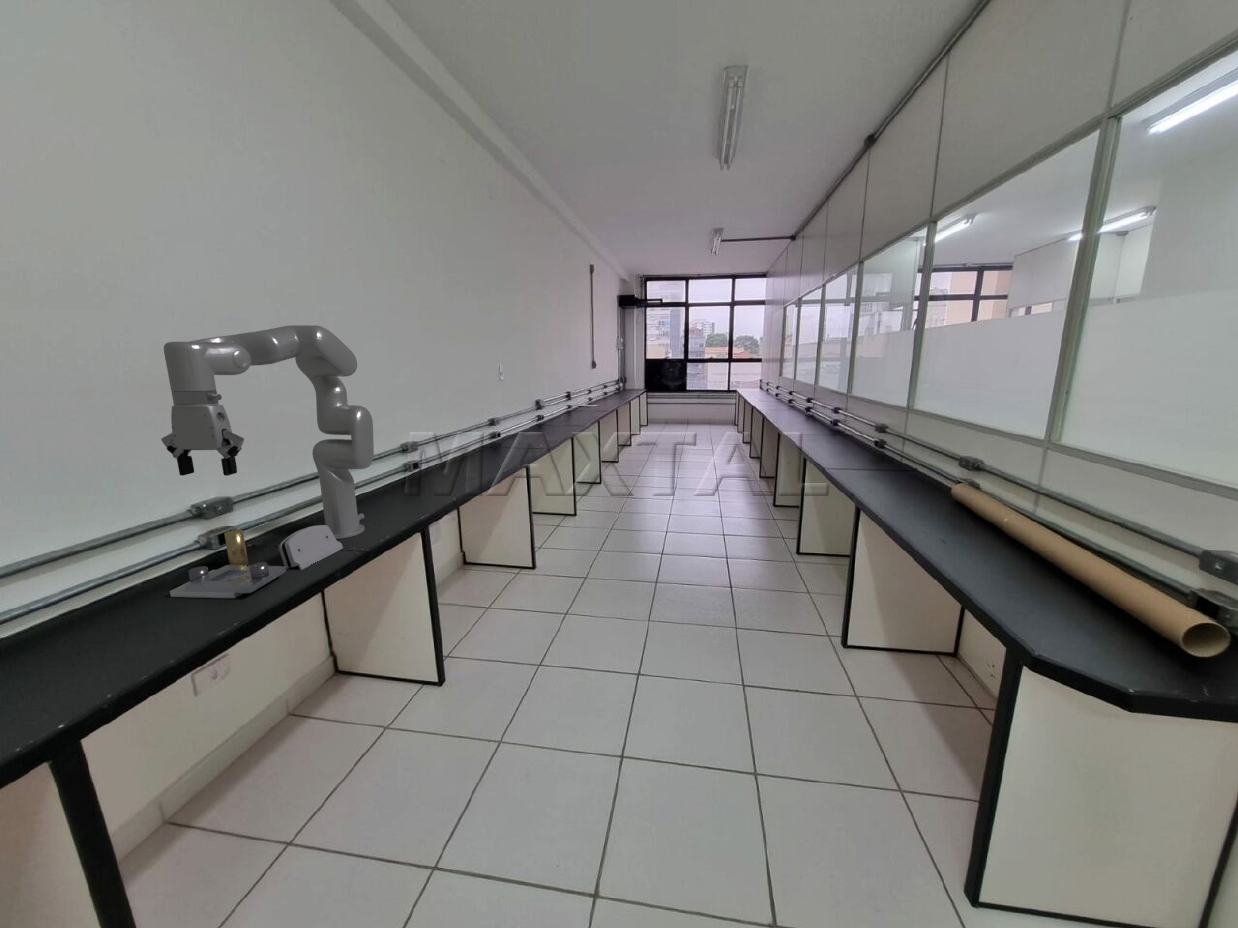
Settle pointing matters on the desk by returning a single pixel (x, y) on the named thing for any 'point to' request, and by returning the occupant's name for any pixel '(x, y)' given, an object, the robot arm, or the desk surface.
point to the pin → (236, 547)
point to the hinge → (308, 546)
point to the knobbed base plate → (227, 580)
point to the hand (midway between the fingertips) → (209, 474)
